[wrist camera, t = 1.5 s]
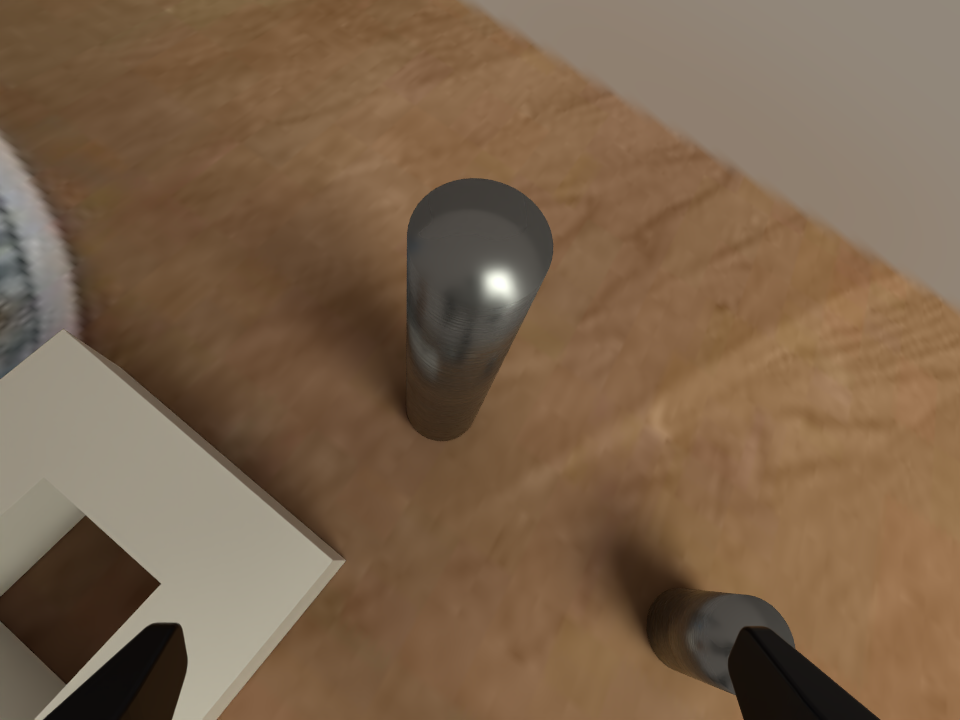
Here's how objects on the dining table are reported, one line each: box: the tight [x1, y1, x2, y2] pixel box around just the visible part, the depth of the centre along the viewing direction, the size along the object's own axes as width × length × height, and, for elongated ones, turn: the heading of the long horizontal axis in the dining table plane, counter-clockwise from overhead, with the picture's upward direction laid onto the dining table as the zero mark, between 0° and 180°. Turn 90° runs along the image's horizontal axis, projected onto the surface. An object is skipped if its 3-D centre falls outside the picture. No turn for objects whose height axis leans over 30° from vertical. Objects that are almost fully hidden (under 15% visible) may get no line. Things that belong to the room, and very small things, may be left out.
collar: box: [0, 329, 346, 720], centre depth 17 cm, size 12×12×4 cm
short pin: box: [647, 588, 795, 695], centre depth 19 cm, size 3×3×4 cm
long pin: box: [406, 178, 553, 441], centre depth 17 cm, size 3×3×13 cm
